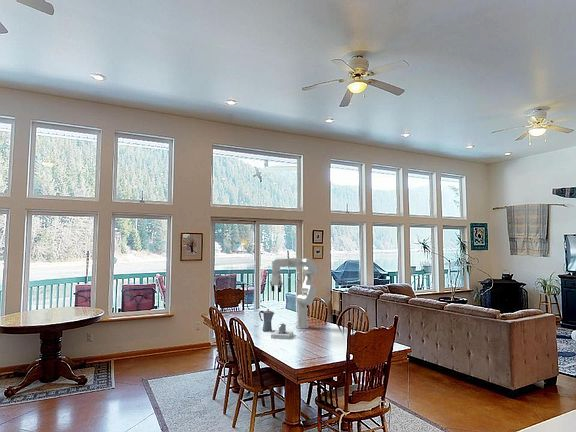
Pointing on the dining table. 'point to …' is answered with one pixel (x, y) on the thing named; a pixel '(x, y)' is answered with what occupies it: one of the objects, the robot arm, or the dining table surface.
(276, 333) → the housing
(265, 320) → the moka pot
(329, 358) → the dining table surface
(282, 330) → the end cover
